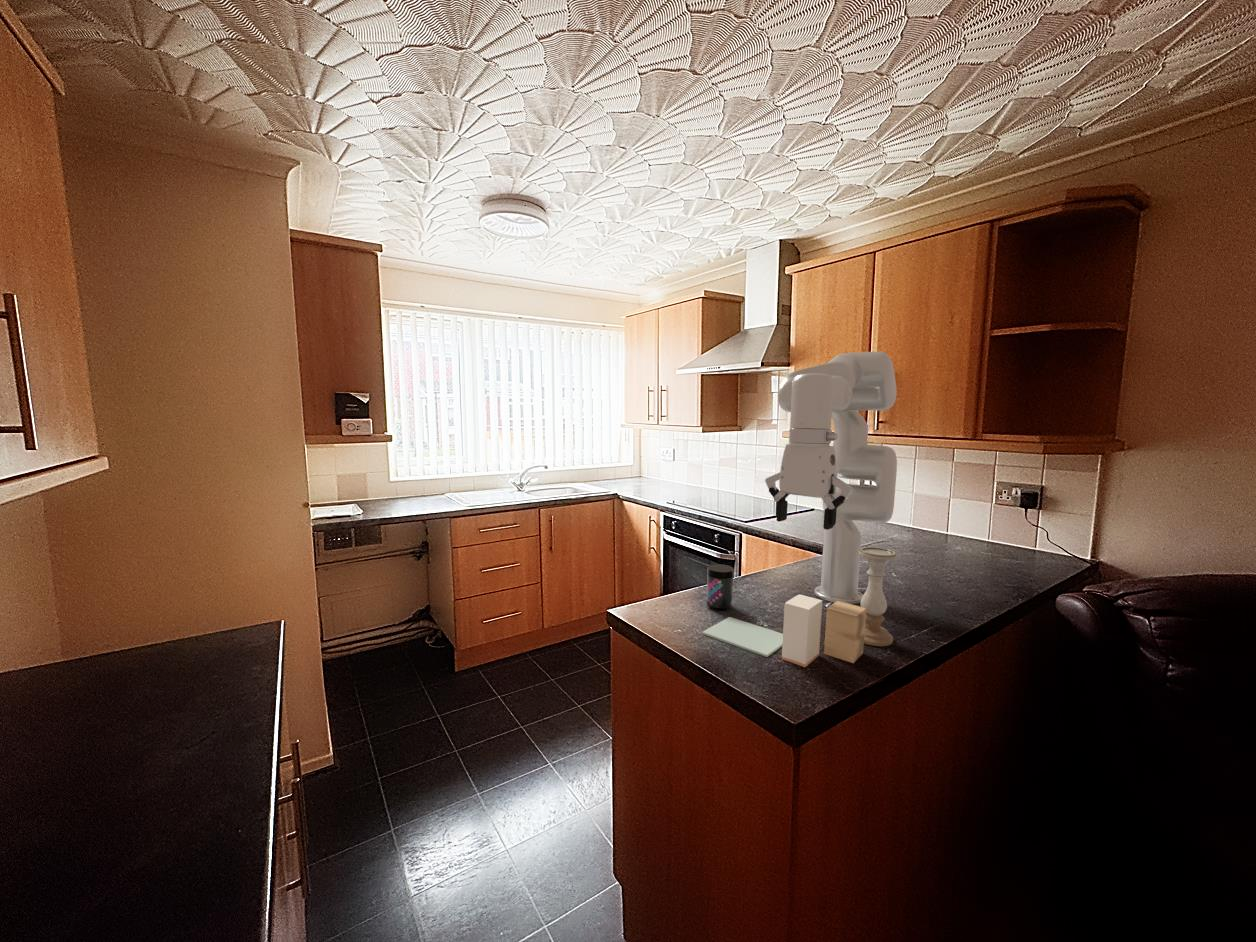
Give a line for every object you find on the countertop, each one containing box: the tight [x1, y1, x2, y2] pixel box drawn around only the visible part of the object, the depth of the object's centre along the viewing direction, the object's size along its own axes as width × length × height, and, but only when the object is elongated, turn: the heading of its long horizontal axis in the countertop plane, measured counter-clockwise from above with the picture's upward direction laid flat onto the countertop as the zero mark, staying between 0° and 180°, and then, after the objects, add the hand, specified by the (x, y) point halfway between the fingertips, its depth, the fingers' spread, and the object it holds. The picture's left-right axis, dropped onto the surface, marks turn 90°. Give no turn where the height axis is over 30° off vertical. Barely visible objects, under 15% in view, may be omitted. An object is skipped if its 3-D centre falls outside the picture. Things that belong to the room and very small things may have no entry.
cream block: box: [781, 593, 823, 668], centre depth 104 cm, size 7×5×12 cm
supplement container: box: [706, 563, 735, 612], centre depth 131 cm, size 7×7×10 cm
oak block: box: [823, 601, 866, 664], centre depth 106 cm, size 6×6×10 cm
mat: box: [701, 616, 783, 658], centre depth 114 cm, size 12×16×1 cm
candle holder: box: [859, 546, 897, 647], centre depth 113 cm, size 9×9×20 cm
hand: (804, 524), depth 100 cm, fingers open, 9 cm apart
